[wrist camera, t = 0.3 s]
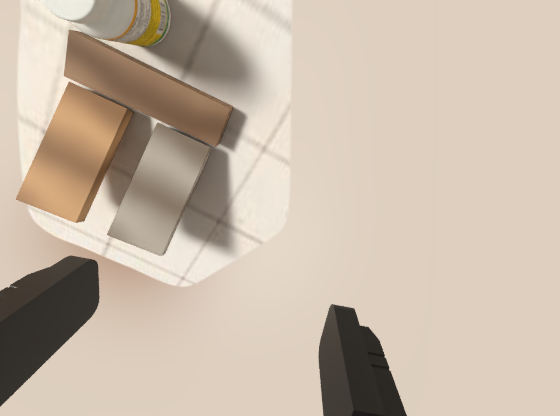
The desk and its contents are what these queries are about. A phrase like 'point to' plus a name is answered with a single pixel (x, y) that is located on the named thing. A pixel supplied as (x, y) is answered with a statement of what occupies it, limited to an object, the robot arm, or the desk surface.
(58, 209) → the chestnut plank
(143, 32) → the supplement bottle
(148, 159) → the grey ash plank
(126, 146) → the desk surface
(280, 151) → the desk surface
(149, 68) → the walnut panel
